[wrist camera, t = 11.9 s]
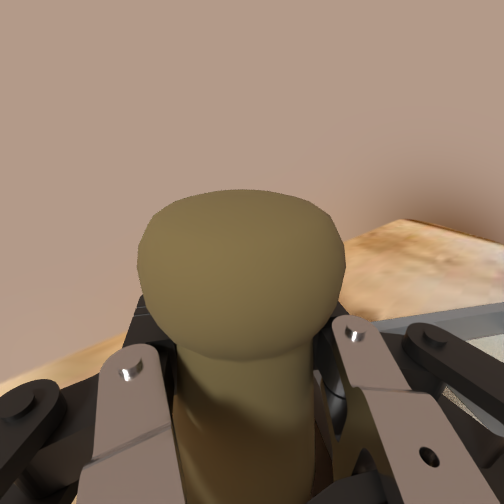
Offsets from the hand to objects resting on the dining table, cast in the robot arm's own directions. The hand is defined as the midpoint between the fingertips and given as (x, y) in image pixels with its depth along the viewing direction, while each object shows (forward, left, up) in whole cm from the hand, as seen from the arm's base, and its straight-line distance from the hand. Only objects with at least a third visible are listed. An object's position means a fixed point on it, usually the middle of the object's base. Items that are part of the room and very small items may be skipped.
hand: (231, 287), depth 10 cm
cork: (0, +3, -7) cm, 7 cm away
